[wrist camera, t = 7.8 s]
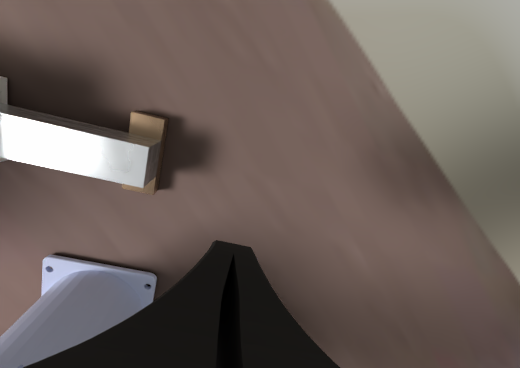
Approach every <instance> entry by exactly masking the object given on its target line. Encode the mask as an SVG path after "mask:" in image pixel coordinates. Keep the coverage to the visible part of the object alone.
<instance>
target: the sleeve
mask: <svg viewBox="0 0 520 368" xmlns="http://www.w3.org/2000/svg"><path fill="white" fill-rule="evenodd" d="M0 103H4V104H7V78H6V77H2V76H0ZM6 160H8V159H5V158H1V157H0V162H3V161H6Z"/></svg>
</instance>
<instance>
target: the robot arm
mask: <svg viewBox="0 0 520 368" xmlns="http://www.w3.org/2000/svg"><path fill="white" fill-rule="evenodd" d="M49 266H50V267H52V268H53V269H51V268H50V267H49ZM156 281H157V277H156V275H155V274H153V273H150V272H144V271H139V270H133V269H128V268H122V267H117V266H112V265H106V264H101V263H95V262H90V261H84V260H79V259H73V258H68V257H62V256H57V255H48V256H47V257H46V258H44V259H43V269H42V296H41V298H39V299H38V300H37V301H36V302H35V303H34V304H33V305H32V306H31V307H30V308H29V309H28V310H27V311H26V312H25V313H24V314H23V315H22V316H21V317H20V318H19V319H18V320H17V321H16V322H15V323H14V324H13V325H12V326H11V327H10V328H9V329H8V330H7V331H6V332H5V333H4V334H3V335H2V336H1V337H0V368H340V367H339V366H338V365H337V364H336V363H334V362H333V361H332V360H331V359H330V358H329V357H328V356H327V355H326V354H325V353H324V352H323V351H322V350H321V349H320V348H319V347H318V346H317V345H316V344H315V342H314V341H313V340H312V339H311V338H310V337H309V336H308V335H307V334H306V333H305V332H304V331H303V329H302V328H301V327H300V326H299V325H298V323H297V322H296V321H295V320H294V318H293V317H292V316H291V315H290V313H289V312H288V311H287V309H286V308H285V307H284V305H283V304H282V302H281V301H280V299H279V298H278V296H277V295H276V293H275V292H274V290H273V288H272V287H271V285H270V283H269V282H268V280H267V278H266V276H265V274H264V273H263V271H262V269H261V267H260V265H259V263H258V261H257V259H256V256H255V254H254V252H253V250H252V249H251V247H247V246H242V245H237V244H232V243H227V242H223V241H218V240H216V241H215V242H213V243H212V245H211V247H210V248H209V250H208V251H207V253H206V254H205V255H204V256H203V257H202V259H201V260H200V261H199V262H198V263H197V264H196V265H195V266H194V267H193V268H192V269H191V270H190V271H189V272H188V273H187V274H186V275H185V276H184V277H183V278H182V279H181V280H180V281H179V282H178V283H176V284H175V285H174V286H173V287H172V288H171V289H169V290H168V291H167V292H166V293H164V294H163V295H162V296H160V297H159V298H158V299H156V300H155V301H153V299H154V293H155V287H156ZM146 284H150V285H151V286H147V285H146Z"/></svg>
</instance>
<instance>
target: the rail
mask: <svg viewBox="0 0 520 368" xmlns="http://www.w3.org/2000/svg"><path fill="white" fill-rule="evenodd" d="M168 121H169V118H164V117H160V116H156V115H152V114H148V113H144V112H140V111H133V112H131V118H130V126H129V133H127V132H123V131H119V130H114V129H110V128H106V127H102V126H97V125H93V124H89V123H85V122H80V121H76V120H72V119H67V118H63V117H59V116H55V115H50V114H46V113H42V112H38V111H33V110H29V109H25V108H21V107H16V106H12V105H8V104H4V103H0V157H1V158H5V159H10V160H15V161H19V162H24V163H29V164H33V165H38V166H43V167H47V168H52V169H57V170H61V171H66V172H71V173H75V174H80V175H85V176H89V177H94V178H99V179H103V180H108V181H112V182H117V183H122V184H123V186H122V188H123V189H127V190H132V191H137V192H141V193H146V194H151V195H154V194H155V193H156V191H157V190H158V185H159V179H160V172H161V166H162V159H163V153H164V146H165V140H166V133H167V127H168Z"/></svg>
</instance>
